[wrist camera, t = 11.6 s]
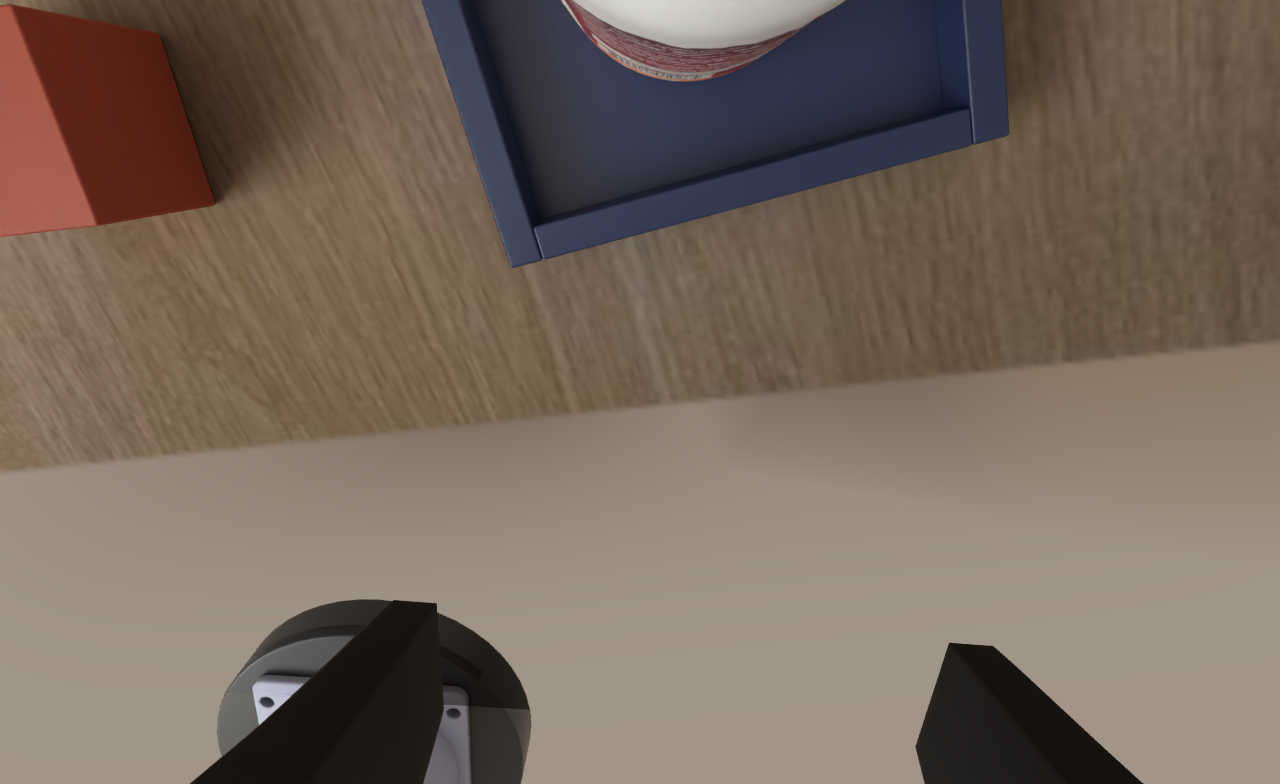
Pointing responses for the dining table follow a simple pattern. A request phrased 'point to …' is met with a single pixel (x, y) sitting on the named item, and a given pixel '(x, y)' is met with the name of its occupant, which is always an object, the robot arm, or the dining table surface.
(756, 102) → the tray
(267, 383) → the dining table surface
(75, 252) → the dining table surface
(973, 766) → the robot arm
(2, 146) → the block
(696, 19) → the pill bottle
